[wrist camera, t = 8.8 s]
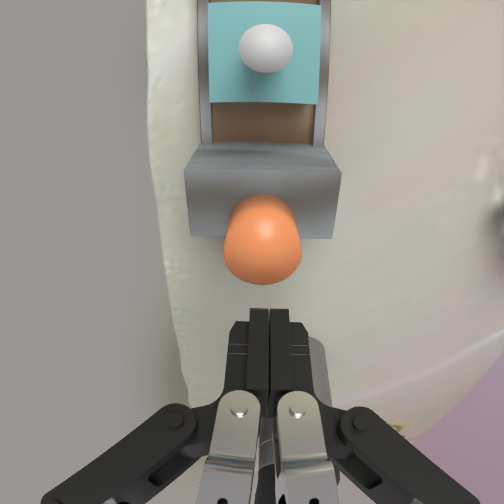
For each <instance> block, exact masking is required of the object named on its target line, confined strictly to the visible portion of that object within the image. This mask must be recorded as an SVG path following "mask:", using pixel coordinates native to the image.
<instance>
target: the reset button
mask: <svg viewBox="0 0 504 504" xmlns="http://www.w3.org/2000/svg"><path fill="white" fill-rule="evenodd" d="M223 257H224V261H225V264H226V266H227V267H228V269H229V270H230V271H231V272H232V273H233V274H234V275H235V276H236V277H238V278H239V279H241V280H243V281H245V282H248V283H252V284H259V285H267V284H273V283H277V282H279V281H282V280H284V279H286V278H287V277H289V276H290V275H291V274H292V273H293V272H294V271H295V270H296V268H297V267H298V265H299V263H300V260H301V245H300V239H299V234H298V228H297V222H296V217H295V214H294V212H293V210H292V209H291V207H290V206H289V205H288V204H287V203H286V202H285V201H283V200H282V199H280V198H278V197H275V196H272V195H266V194H258V195H253V196H249V197H247V198H245V199H243V200H241V201H240V202H239V203H238V204H237V205H236V206H235V207H234V208H233V210H232V211H231V213H230V216H229V221H228V227H227V232H226V238H225V244H224V249H223Z"/></svg>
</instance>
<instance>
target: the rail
mask: <svg viewBox="0 0 504 504" xmlns="http://www.w3.org/2000/svg"><path fill="white" fill-rule="evenodd" d="M241 1H265V2H290V3H303V4H314V5H321V43H320V70H319V90H318V105H316V104H301V103H281V102H211V103H210V98H209V59H208V3H216V2H241ZM330 21H331V0H197V36H198V77H199V104H200V125H201V144H200V145H199V147H198V149H197V150H196V152H195V153H194V155H193V156H192V158H191V160H190V161H189V163H188V165H187V166H186V168H185V169H184V177H185V187H186V197H187V206H188V215H189V224H190V232H191V236H206V237H226V232H227V227H228V221H229V216H230V213H231V211H232V210H233V208H234V207H235V206H236V205H237V204H238V203H239V202H240V201H241V200H243V199H245V198H247V197H249V196H253V195H258V194H266V195H272V196H275V197H278V198H280V199H282V200H283V201H285V202H286V203H287V204H288V205H289V206H290V207H291V209H292V210H293V212H294V214H295V217H296V222H297V228H298V234H299V238H315V239H332V235H333V229H334V222H335V216H336V210H337V203H338V196H339V189H340V182H341V174H342V173H341V172H340V170H339V168H338V167H337V165H336V164H335V162H334V160H333V159H332V157H331V156H330V154H329V152H328V151H327V149H326V148H325V146H324V134H325V121H326V108H327V92H328V75H329V53H330Z"/></svg>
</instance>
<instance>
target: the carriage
mask: <svg viewBox="0 0 504 504" xmlns="http://www.w3.org/2000/svg"><path fill="white" fill-rule="evenodd" d="M320 43H321V5H314V4H303V3H290V2H265V1H241V2H216V3H208V59H209V98H210V103H211V102H281V103H301V104H316V105H318V90H319V70H320Z"/></svg>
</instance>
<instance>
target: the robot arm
mask: <svg viewBox="0 0 504 504" xmlns="http://www.w3.org/2000/svg"><path fill="white" fill-rule="evenodd" d="M258 437H259V471H258V485H257V489H256V494H255V503H254V504H340V503H339V497H338V490H337V485H338V483H339V481H340V472H339V470H340V471H341V472H342V473H343V474H344V475H345V476H346V477H347V478H348V479H349V480H350V481H352V482H353V483H354V484H355V485H356V486H357V487H358V488H359V489H360V490H361V491H363V492H364V493H365V494H366V495H367V496H368V497H369V498H370V499H372V500H373V501H374V502H375V503H376V504H480V502H479V500H478V499H477V498H476V497H475V496H474V495H472V494H471V493H470V492H469V491H467V490H466V489H465V488H464V487H462V486H461V485H460V484H459V483H457V482H456V481H455V480H454V479H453V478H451V477H450V476H449V475H448V474H446V473H445V472H444V471H443V470H441V469H440V468H439V467H438V466H437V465H435V464H434V463H433V462H432V461H431V460H429V459H428V458H427V457H426V456H425V455H423V454H422V453H421V452H420V451H419V450H417V449H416V448H415V447H414V446H413V445H412V444H410V443H409V442H408V441H407V440H406V439H405V438H403V437H402V436H401V435H400V434H399V433H398V432H396V431H395V430H394V429H393V428H392V427H391V426H389V425H388V424H387V423H386V422H385V421H384V420H383V419H381V418H380V417H379V416H378V415H377V414H376V413H375V412H373V411H372V410H371V409H369V408H366V407H354V408H351V409H349V410H348V411H345V410H341V409H337V408H333V407H332V401H331V393H330V386H329V378H328V370H327V363H326V357H325V350H324V348H323V346H322V345H321V343H319V342H318V341H316V340H314V339H312V338H308V332H307V331H306V329H305V328H304V326H303V324H302V323H301V322H289V310H288V309H270V312H269V311H268V309H261V308H250V319H249V322H245V321H236V322H235V324H234V325H233V327H232V328H231V330H230V333H229V344H228V354H227V362H226V372H225V382H224V390H223V392H222V394H221V396H220V397H219V398H218V399H217V400H216V401H215V402H213V403H211V404H209V405H206V406H201V407H197V408H192V409H190V408H188V407H187V406H185V405H182V404H177V403H174V404H169V405H166V406H164V407H163V408H161V409H160V410H159V411H157V412H156V413H155V414H154V415H152V416H151V417H150V418H149V419H148V420H146V421H145V422H144V423H142V424H141V425H140V426H139V427H137V428H136V429H135V430H133V431H132V432H131V433H129V434H128V435H127V436H126V437H124V438H123V439H122V440H120V441H119V442H118V443H116V444H115V445H114V446H112V447H111V448H110V449H108V450H107V451H106V452H104V453H103V454H102V455H100V456H99V457H98V458H96V459H95V460H94V461H92V462H91V463H89V464H88V465H87V466H85V467H84V468H82V469H81V470H80V471H78V472H77V473H75V474H74V475H72V476H71V477H70V478H68V479H67V480H65V481H64V482H62V483H61V484H59V485H58V486H57V487H55V488H54V489H52V490H51V491H49V492H48V493H46V494H45V495H44V496H43V498H42V500H41V504H145V503H146V502H148V501H149V500H150V499H152V498H153V497H154V496H155V495H157V494H158V493H159V492H160V491H162V490H163V489H164V488H165V487H166V486H168V485H169V484H170V483H171V482H173V481H174V480H175V479H176V478H178V477H179V476H180V475H181V474H182V473H183V472H185V471H186V470H187V469H188V468H189V467H190V466H192V465H193V464H194V463H195V462H196V461H197V460H198V459H199V458H201V456H206V455H208V458H207V459H206V461H205V463H204V467H203V471H202V476H201V482H200V486H199V491H198V497H197V502H196V504H250V499H251V491H252V483H253V475H254V467H255V458H256V450H257V441H258Z"/></svg>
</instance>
